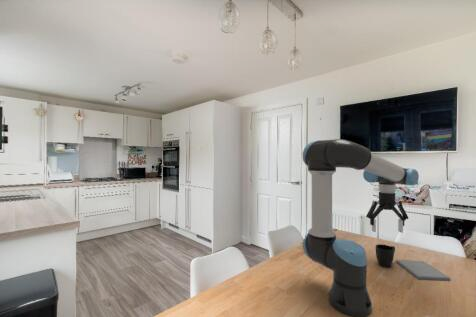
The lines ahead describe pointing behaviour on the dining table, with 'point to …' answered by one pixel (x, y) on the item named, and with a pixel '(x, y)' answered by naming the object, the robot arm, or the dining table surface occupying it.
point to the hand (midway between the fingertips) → (387, 231)
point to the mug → (385, 255)
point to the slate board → (422, 270)
